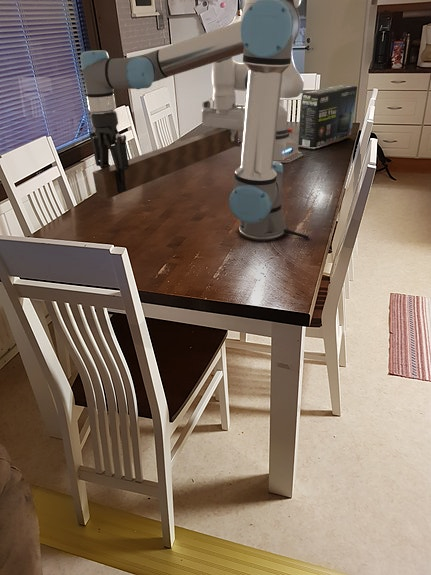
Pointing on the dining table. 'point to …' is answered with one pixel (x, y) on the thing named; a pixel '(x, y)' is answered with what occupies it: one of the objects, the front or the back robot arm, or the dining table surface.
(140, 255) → the dining table surface
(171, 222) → the dining table surface
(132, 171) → the bar
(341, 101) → the router box
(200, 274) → the dining table surface
